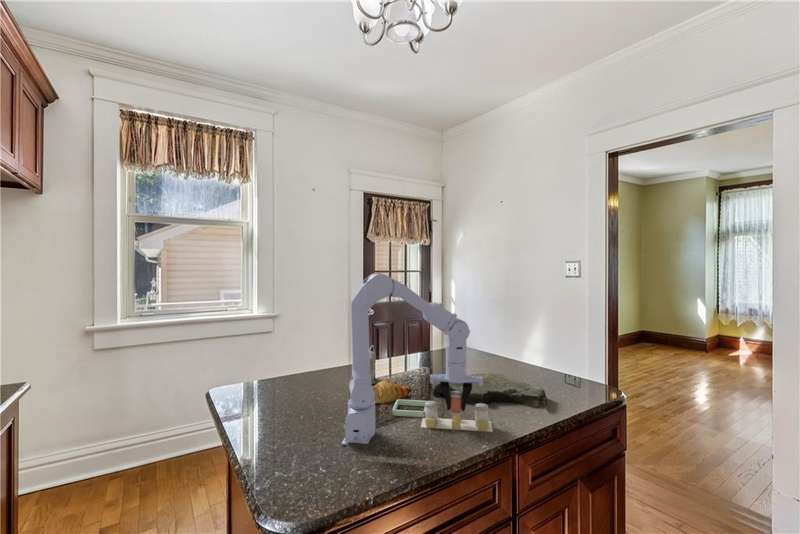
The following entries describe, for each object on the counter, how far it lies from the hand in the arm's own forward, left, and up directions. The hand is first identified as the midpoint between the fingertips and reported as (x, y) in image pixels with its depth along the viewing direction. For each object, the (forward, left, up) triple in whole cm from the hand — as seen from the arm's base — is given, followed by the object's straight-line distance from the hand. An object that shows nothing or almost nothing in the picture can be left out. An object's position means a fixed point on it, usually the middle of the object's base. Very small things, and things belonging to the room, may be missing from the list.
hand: (456, 409), depth 106 cm
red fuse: (0, 0, -1) cm, 1 cm away
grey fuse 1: (0, +7, -4) cm, 8 cm away
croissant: (+18, +25, -6) cm, 31 cm away
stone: (+25, -11, -6) cm, 28 cm away
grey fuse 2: (0, -7, -4) cm, 8 cm away
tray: (+8, +14, -5) cm, 17 cm away
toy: (+36, +35, -6) cm, 50 cm away
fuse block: (0, 0, -5) cm, 5 cm away
